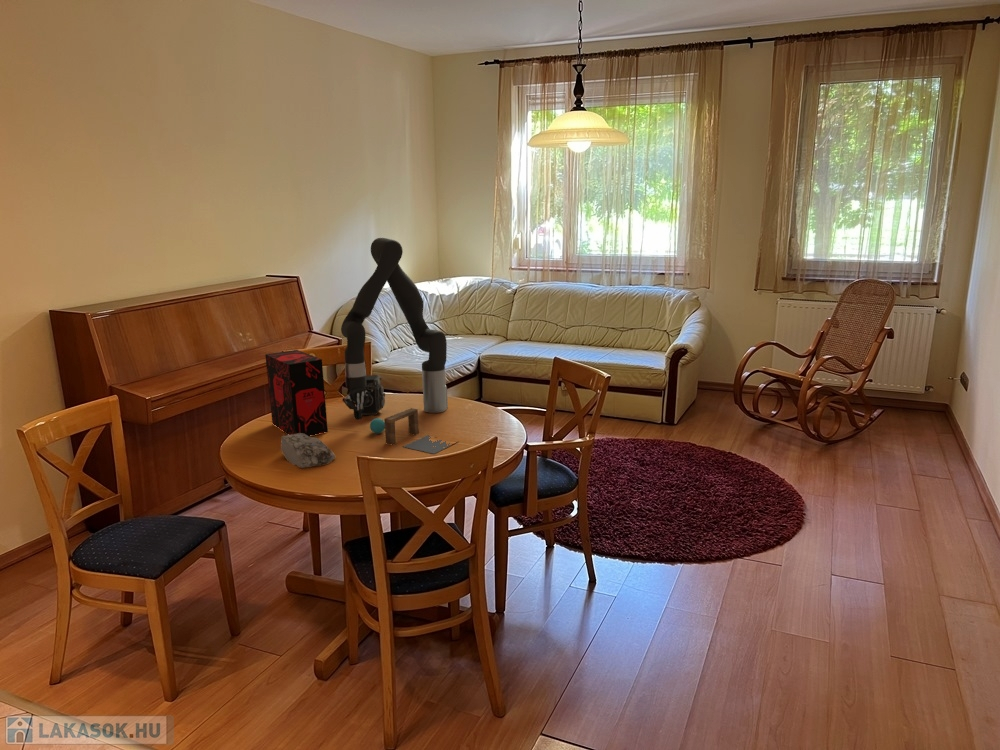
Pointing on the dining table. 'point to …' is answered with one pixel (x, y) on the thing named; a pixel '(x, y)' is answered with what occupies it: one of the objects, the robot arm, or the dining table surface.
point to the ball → (377, 425)
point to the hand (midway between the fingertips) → (358, 419)
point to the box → (297, 392)
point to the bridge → (390, 421)
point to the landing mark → (427, 445)
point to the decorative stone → (305, 450)
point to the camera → (374, 395)
